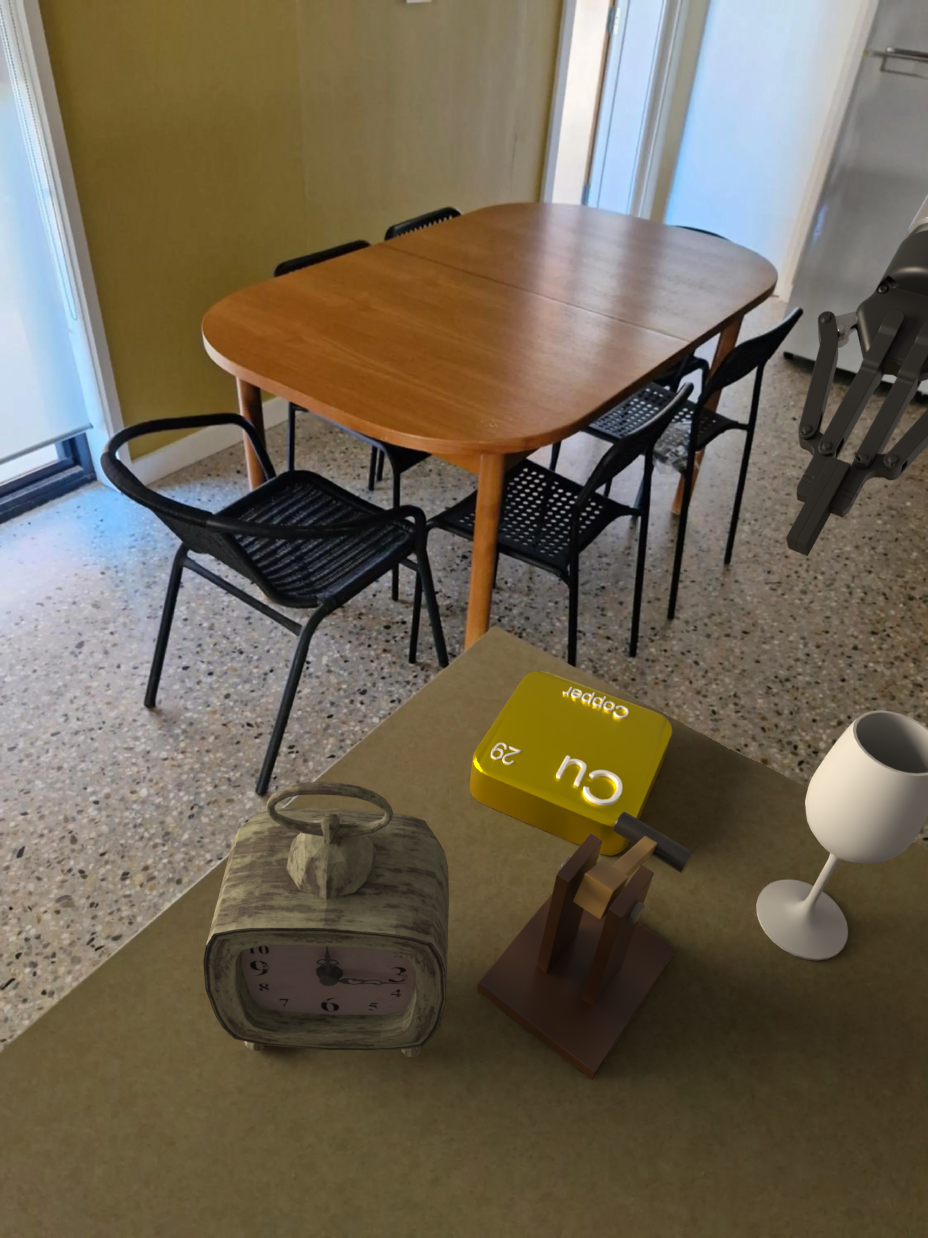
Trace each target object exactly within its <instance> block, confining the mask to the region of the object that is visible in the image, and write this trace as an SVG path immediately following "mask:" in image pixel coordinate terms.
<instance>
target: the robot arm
mask: <svg viewBox="0 0 928 1238" xmlns="http://www.w3.org/2000/svg"><path fill="white" fill-rule="evenodd" d="M855 331H856V333H857V338H858V342H859V347H860V352H861V356H862V360H861V364H860V367H859V369H858V371H857V373H856V375H855V376H854V377H853V380H852V382H851V384H850V386H849V387H848V389H847V391H846V393H845V394H844V396H843V398H842V400H841V401H840V403H839V406H838V407H837V408H836V411H835V413H834V414H833V416H832V418H831V420H830V422H829V424H828V426H827V427H826V429H825V430H824V433H823V432H821V428H822V424H823V420H824V417H825V412H826V408H827V405H828V400H829V397H830V393H831V390H832V389H831V388H832V385H833V380H834V377H835V373H836V369H837V365H838V361H839V348H843V347H845V346H846V345H847V344H848V343H849V341H850V336H851V334H852V333H853V332H855ZM817 334H818V343H819V344H818V345H819V347H818V349H817V354H816V358H815V362H814V366H813V369H812V370H813V371H812V374H811V378H810V382H809V385H808V389H807V393H806V397H805V401H804V404H803V409H802V413H801V417H800V420H799V424H798V429H797V433H798V443H799V447H800V448H801V449H802V450H805V451H807V452H808V453H810V455H812V458H811V460H810V461H809V463H808V465H807V467H806V468H805V471H804V473H803V475H802V477H801V478H800V480H799V481H798V483H797V485H796V500H797V501H799V502H802V503H804V504H803V506H802V507H801V509H800V511H799V513H798V515H797V517H796V518H795V520H794V522H793V524H792V526H791V527H790V529H789V531H788V533H787V535H786V536H785V539H786V545H787V549H789V550H791V551H794V552H796V553H799V554H801V555H803V556H806V557H809V555H810V553H811V551H812V549H813V548H814V545H815V544H816V542H817V540H818V538H819V536H820V534H821V533H822V531H823V529H824V528H825V525H826V524H827V521H828V520H829V518H830V516H831V514H832V515H835V516H837V517H840V518H842V519H843V518H844V517H846V516H847V515H848V514H849V513H850V511H851V510H852V507H853V506H854V504H855V502H856V501H857V499H858V497H859V494H860V493H861V491H862V489H863V487H865V486H864V485H865V484H866V483H867V481H869V480H871V479H876V478H882V479H885V480H886V481H895V480H897V479H898V478H900V476H902V475H903V474H904V473H905V471H906V470H907V469H909V467H910V466H911V465H912V463H913V462H914V461H915V460H916V459H917V458H918V457H919V456H920V454H921V453H923V451H924V450H925V449H926V448H927V447H928V408H927V409H926V410H925V411H924V412H923V413H922V414H921V416H920V417H919V418H918V419H917V420H916V421H915V422H914V423H913V424H912V425H911V427H909V429H908V430H907V431H906V432H905V433H904V434H903V436H901V438H899V440H898V441H897V442H896V443H895V444H894V445H893V446H892V447H891V449H890V450H889V451H888V452H887V453H883V452H884V450H885V449H886V446H887V445H888V444H889V442H890V440H891V438H892V435H893V434H894V432H895V430H896V428H897V427H898V425H899V422H900V421H901V419H902V417H903V415H904V413H905V412H906V410H907V408H908V406H909V404H910V403H911V401H912V399H914V397H915V396H916V394H917V392H918V390H919V387H920V386H921V384H922V382H925V381H928V193H927V194H926V196H925V199H924V200H923V202H922V204H921V205H920V207H919V209H918V210H917V212H916V214H915V216H914V217H913V220H912V221H911V223H910V225H909V227H908V228H907V231H906V233H905V238H904V240H902V241H901V243H900V244H899V245H898V248H897V249H896V251H895V253H894V254H893V257H892V258H891V260H890V262H889V264H888V266H887V268H886V269H885V270H884V273H883V274H882V277H881V279H880V281H879V282H878V284H877V286H876V288H875V290H874V291H873V293H872V294H871V295H870V296H869V297H867V298H866V299H864V300H863V301H861V302H860V304H858V306H857V308H856V310H855V311H851V312H848V313H843V314H840V315H836V314H835V313H834V312H833V311H829V310H826V311H822V312H821V313H820V314H819V315H818V317H817ZM884 376H894V377H895V380H894V382H893V384H892V386H891V388H890V390H889V391H888V393H887V395H886V397H885V399H884V401H883V402H882V404H881V406H880V408H879V410H878V412H877V413H876V416H875V417H874V419H873V420H872V423H871V425H870V427H869V428H868V430H867V432H866V434H865V436H864V438H863V440H862V441H861V443H860V445H859V447H858V449H857V451H854V453H853V460H852V462H851V463H849V462H848V461H845V460H841V459H839V456H840V454H841V452H842V451H843V449H844V447H845V445H846V443H847V442H848V439H849V438H850V436H851V434H852V432H853V430H854V429H855V427H856V425H857V423H858V421H859V419H860V418H861V416H862V414H863V412H864V410H865V409H866V407H867V405H868V403H869V401H870V400H871V397H872V396H873V394H874V392H875V390H876V389H877V388H878V387H879V385H880V383H881V382H882V380H883V378H884Z"/></svg>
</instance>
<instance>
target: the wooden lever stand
mask: <svg viewBox="0 0 928 1238" xmlns="http://www.w3.org/2000/svg"><path fill="white" fill-rule="evenodd" d="M601 845H602V840H601V839H599V838H598V837H596V836H594V835H593V834H590V835H589V836H588V837H587V838H586V839H585V841H584V842H583V843H582V844H581V845H579V846H578V848H577V849H576V850H575V851H574V853H573V854H572V855H568V856H566V857H565V858H564V860H563V861H562V862H561V865H560V866H559V869H558V872H557V873H556V876H555V879H554V885H553V889H552V892H551V894H549V895H548V897H547V898H546V900H545V901H544V902H543V903H542V904H541V905H540V907H539V908H538V909H537V910H536V912H535V913H534V914H533V915H532V917H531V918H530V919H529V920H528V921H527V923H526V924H525V925H524V926H523V928H522V929H521V930H520V931H519V933H518V934H517V935H516V936H515V937H514V939H512V941H510V942H511V943H510V944H508V946H507V947H506V949H504V951H503V952H502V953H501V955H500V956H499V957H497V959H496V960H495V962H494V963H493V965H492V966H491V967H490V968H489V969H488V971H486V973H485V974H484V975H483V977H482V978H481V979H480V980H479V982H478V983H477V988H476V989H477V990H476V992H477V993H479V994H480V995H481V996H483V997H484V998H485V999H486V1000H487V1001H489V1002H491V1004H493V1005H494V1006H495V1007H496V1008H498V1009H500V1010H501V1011H502V1012H503V1013H505V1014H506V1015H507V1016H509V1018H512V1020H514V1021H515V1022H516V1023H518V1024H519V1025H520V1026H521V1027H522V1028H524V1029H526V1030H527V1031H528V1032H530V1033H531V1034H532V1035H533V1036H535V1037H536V1038H537V1039H539V1040H540V1041H541V1042H542V1043H544V1044H545V1045H546V1046H548V1047H549V1048H550V1049H551V1050H553V1051H554V1052H555V1053H557V1054H558V1055H559V1056H561V1057H562V1058H563V1059H565V1060H566V1061H567V1062H569V1064H571V1065H572V1066H573V1067H575V1068H576V1069H578V1070H579V1071H580V1072H581V1073H583V1074H584V1075H586V1076H587V1077H588V1078H589V1079H591V1080H594V1079H595V1077H596V1076H597V1074H598V1073H599V1071H600V1069H602V1066H603V1065H604V1063H605V1062H606V1060H607V1059H608V1057H609V1055H610V1054H611V1052H612V1051H613V1049H614V1047H615V1046H616V1044H617V1043H618V1041H619V1040H620V1039H621V1037H622V1035H623V1033H624V1032H625V1030H626V1029H627V1027H628V1026H629V1025H630V1023H631V1021H632V1019H633V1018H634V1017H635V1015H636V1013H637V1012H638V1010H639V1009H640V1007H641V1006H642V1004H643V1003H644V1001H645V1000H646V998H647V996H648V995H649V993H650V992H651V990H652V989H653V987H654V985H655V984H656V983H657V981H658V979H659V978H660V976H661V975H662V973H663V971H664V970H665V968H666V967H667V966H668V963H669V962H670V961H671V959H672V957H673V956H674V953H675V951H676V947H675V946H673V945H672V944H671V943H669V942H668V941H666V940H665V939H663V938H661V937H660V936H659V935H657V934H655V933H654V932H652V931H651V930H649V929H648V928H647V927H644V926H643V925H642V924H640V923H638V921H639V920H640V918H641V917H642V915H643V913H644V910H645V908H646V904H645V901H646V897H647V895H648V892H649V889H650V886H651V883H652V882H653V877H654V875H655V872H654V871H652V870H650V869H649V868H648V867H646V866H644V865H643V864H641V865H640V866H639V867H638V868H637V869H636V870H635V871H634V874H633V875H631V876H632V877H631V878H630V879H629V880H628V881H627V882H626V885H625V887H624V889H623V890H622V891H621V893H620V894H619V895H618V897H617V898H616V899H615V901H614V902H613V903H612V905H611V906H610V907H609V909H608V912H607V914H606V915H605V916H604V917H603V918H602V919H601V920H600V919H598V918H597V917H595V916H594V915H592V914H591V913H589V912H588V911H586V910H585V909H583V908H582V907H580V906H579V905H577V904H576V903H574V902H573V900H574V898H575V895H576V893H577V891H578V889H579V886H580V884H581V882H582V880H583V877H584V875H585V873H586V872H587V871H589V870H590V869H591V868H592V867H593V866H594V865H596V864H597V863H598V860H599V855H600V854H599V852H600V848H601Z"/></svg>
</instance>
